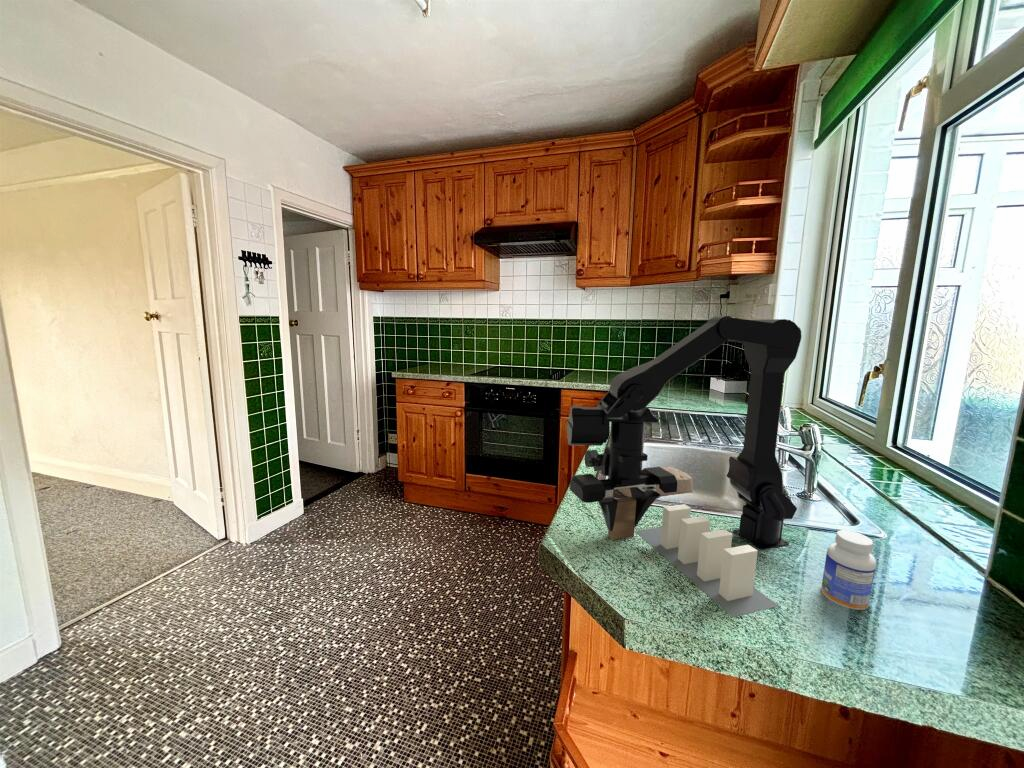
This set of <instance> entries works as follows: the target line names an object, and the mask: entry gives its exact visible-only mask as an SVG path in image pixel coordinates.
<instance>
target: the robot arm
mask: <svg viewBox="0 0 1024 768" xmlns="http://www.w3.org/2000/svg"><path fill="white" fill-rule="evenodd" d="M802 336H803V335H802V330H801V328H800V327H799V326H798V325H797V324H796V322H794V321H792V320H791V319H785V318H781V319H780V318H776V319H775V318H774V319H773V318H760V319H756V320H751V319H745V318H739V317H734V316H731V315H716V316H712V317H711V318H709V319H708V320H707V322H705V324H703V325H701V326H700V327H699V328H697V329H695V330H694V331H693V332H692V333H690V334H688V335H687V336H685V337H684V338H682V339H681V340H680V341H678V342H677V343H675V344H673V346H671V347H669V348H668V349H667V350H665V351H664V352H661V354H659V355H658V356H657V357H655V358H653V359H652V360H650V361H648V362H645V363H642V364H639V365H635V366H633V367H631V368H629V369H626V370H624V371H622V372H620V373H617V374H616V375H615V376H614V377H613V378H612V379H611V381H610V385H609V389H608V391H607V392H606V394H605V395H604V396H603V397H602V398H601V400H599V402H598V403H597V404H596V405H597V406H594V407H593V406H580V405H570V408H569V409H570V411H569V415H568V420H567V421H566V437H567V444H568V445H569V446H589V447H590V446H593V447H594V446H596V447H597V446H603V444H606V443H608V442H607V441H609V446H605V449H604V453H599V452H598V449H588V450H584V464H585V467H586V468H593V471H594V472H597V471H598V472H599V471H600V472H601V473H600V474H602V475H603V476H605V477H607V479H606V478H605V479H599V478H597V477H596V476H595V475H593V474H592V473H586V474H577V475H573V476H572V478H571V479H570V482H569V490H570V491H571V492H572V494H574V495H575V496H576V497H577V498H578V499H579V500H580V501H581V502H582V503H586V504H589V503H597V502H598V504H599V506H600V509H601V513H602V515H603V518H604V522H605V525H606V528H607V530H608V529H609V530H610V531H612V530H613V527H614V523H615V516H616V510H617V504H618V501H617V500H616V499H617V498H615V497H614V491H616V490H617V491H618V489H625V488H630V491H631V495H632V498H634V499H635V500H636V514H635V528H636V527H637V526H638V524H639V523H640V521H641V519H642V518H643V516H644V515H645V514H646V512H647V511H648V510H649V508H650V507H651V505H652V504H654V502H655V501H656V500H657V499H660V498H661V497H660V494H659V493H657V492H656V485H659V489H660V490H661V491H662V492H663V493H670V492H677V488H678V480H677V478H676V476H675V475H673V474H672V473H670V472H668V471H666V470H664V469H663V468H664V467H661V466H655V467H654V466H652V467H644V468H643V462H647V461H648V454H647V453H644V448H645V447H644V446H645V444H644V443H645V433H646V432H645V430H646V423H658V422H659V419H658V418H657V416H655V415H654V414H653V413H652V411H651V409H650V408H649V407H647V406H648V405H649V404H651V402H653V400H655V399H656V398H657V397H658V396H659V395H660V394H661V392H662V390H663V389H664V388H665V386H666V385H667V384H668V383H669V382H670V381H671V380H672V379H673V378H675V377H676V376H678V375H679V374H682V373H683V372H684V371H686V369H688V368H690V367H691V366H692V365H694V364H695V363H697V362H699V361H700V360H701V359H703V358H704V357H706V356H707V355H709V354H710V353H712V352H713V351H715V350H716V349H718V348H719V347H720V346H723V344H726V342H736V343H739V344H740V343H741V344H743V349H744V356H745V359H746V361H747V363H748V367H749V369H750V380H749V390H748V398H747V399H748V400H747V411H746V419H745V429H744V439H743V440H744V441H743V449H742V450H741V452H740V453H739V454H738V455H737V457H735V456H729V459H728V467H729V468H728V472H727V474H726V477H727V478H728V479H729V483H730V486H732V488H733V489H734V490H735V492H736V493H737V496H738V498H739V499H740V500H742V501H744V502H745V505H744V504H743V505H742V514H741V515H740V519H739V520H740V521H739V528H738V529H737V528H736V529H733V530H732V532H733V534H735V535H737V536H739V537H740V538H742V539H743V540H745V541H746V542H747V543H750V544H751V545H753V546H754V547H756V548H758V549H759V550H762V551H764V550H769V549H775V548H782V547H786V546H789V545H790V543H789V542H788V541H787V540H785V539H783V538H782V537H783V536H782V535H783V528H784V520H792V519H793V517H794V516H795V514H796V511H797V510H798V507H797V506H796V504H794V503H793V502H792V501H791V500H790V499H789V498H788V497H787V496H786V495H785V493H784V479H783V477H784V476H783V473H782V470H781V467H780V465H779V462H778V460H777V459H778V458H777V457H776V453H777V451H776V450H777V449H776V448H777V442H778V441H777V440H778V433H779V423H780V415H781V407H782V396H783V387H784V380H785V379H784V378H785V375H786V372H787V371H788V369H789V368H790V366H791V365H792V363H793V362H794V361H795V360H796V358H797V355H798V352H799V348H800V344H801V341H802Z"/></svg>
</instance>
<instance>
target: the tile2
mask: <svg viewBox="0 0 1024 768" xmlns="http://www.w3.org/2000/svg"><path fill="white" fill-rule="evenodd" d="M662 507H663V509H662V521H661V527H662V531H661V545H662V546H663V547H664V548H665V549H671V548H677V547H679V535H680V524H681V519H686V518H691V514H692V513H691V512H692V508H691V507H690V506H689V505H687V504H685V503H683V504H676V505H668V506H662Z"/></svg>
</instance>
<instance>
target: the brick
mask: <svg viewBox="0 0 1024 768" xmlns="http://www.w3.org/2000/svg"><path fill="white" fill-rule="evenodd" d="M662 468H663V469H664V470H666V471H668V472H670V473H672V474H673V475H675V476H676V478H677V480H678V488H677V492H670V493H663V492H662V491H661V490H660V489H659V485H656V492H657V493H659V494H660V498H661V497H668V496H675V495H683V494H691V493H693V492H694V491H693V489H694V488H693V487H694V483H693V478H692V477H691V476H690V475H689V474H688V473H687V472H683V471H682V470H680V469H678V468H675V467H673V466H667V467H666V466H665V467H662ZM617 491H618V492H620V493H621V494H623V496H625V497H632V495H631V491H630V488H625V489H617Z"/></svg>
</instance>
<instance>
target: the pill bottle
mask: <svg viewBox="0 0 1024 768" xmlns="http://www.w3.org/2000/svg"><path fill="white" fill-rule="evenodd" d="M834 540H835V541H834V542H833V543H831V544H829V545H828V547H827V551H826V556H825V563H824V566H823V567H824V569H823V575H822V581H821V587H820V588H821V589H820V590H821V593H822V594H823V595H824V596H825V597H826V598H827V599H829V601H831V602H834V603H836V604H837V605H839V606H843V607H844V608H846V609H847V608H848V609H851V610H856V611H857V610H858V611H861V610H862V611H863V610H866V609H868V608H869V605H870V599H871V594H872V589H873V583H874V578H875V573H876V570H877V559H876V558H875V557H874V555H873V554H872V552H873V549H874V541H873V540H872V539H871V538H870V537H869V536H866V535H864V534H862V533H859V532H856V531H852V530H848V529H842V530H837V532H836V536H835V538H834Z"/></svg>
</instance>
